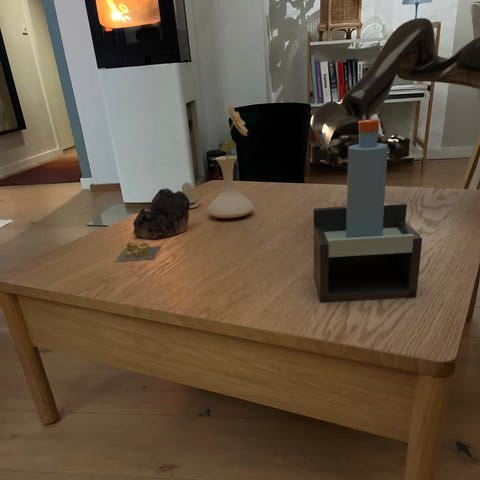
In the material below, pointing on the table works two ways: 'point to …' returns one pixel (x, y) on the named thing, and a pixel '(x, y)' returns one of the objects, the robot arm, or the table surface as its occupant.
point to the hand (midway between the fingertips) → (367, 156)
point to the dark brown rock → (163, 215)
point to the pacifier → (189, 194)
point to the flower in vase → (230, 179)
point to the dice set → (138, 252)
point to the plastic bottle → (366, 183)
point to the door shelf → (365, 257)
